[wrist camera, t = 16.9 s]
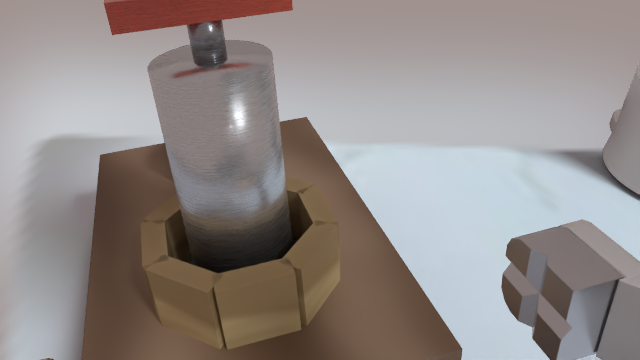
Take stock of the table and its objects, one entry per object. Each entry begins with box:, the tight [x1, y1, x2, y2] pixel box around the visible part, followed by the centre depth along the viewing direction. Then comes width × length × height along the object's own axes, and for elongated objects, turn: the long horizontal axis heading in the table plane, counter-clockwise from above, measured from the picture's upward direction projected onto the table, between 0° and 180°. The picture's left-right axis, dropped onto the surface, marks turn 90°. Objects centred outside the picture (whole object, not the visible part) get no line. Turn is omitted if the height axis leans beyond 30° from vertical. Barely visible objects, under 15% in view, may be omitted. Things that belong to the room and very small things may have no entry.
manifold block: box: [82, 117, 462, 360], centre depth 29 cm, size 14×22×9 cm, turn 17°
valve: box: [104, 0, 297, 274], centre depth 22 cm, size 6×5×12 cm
